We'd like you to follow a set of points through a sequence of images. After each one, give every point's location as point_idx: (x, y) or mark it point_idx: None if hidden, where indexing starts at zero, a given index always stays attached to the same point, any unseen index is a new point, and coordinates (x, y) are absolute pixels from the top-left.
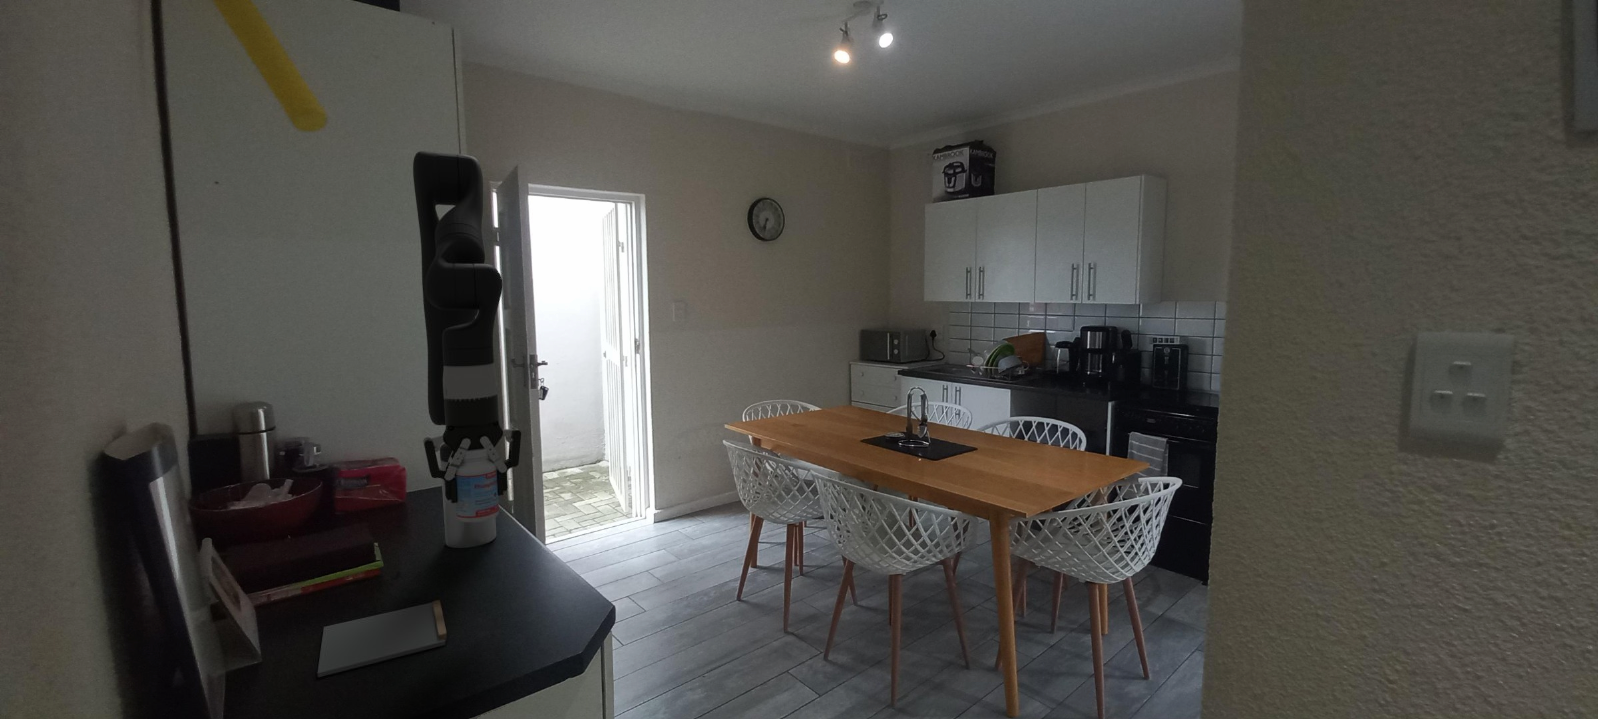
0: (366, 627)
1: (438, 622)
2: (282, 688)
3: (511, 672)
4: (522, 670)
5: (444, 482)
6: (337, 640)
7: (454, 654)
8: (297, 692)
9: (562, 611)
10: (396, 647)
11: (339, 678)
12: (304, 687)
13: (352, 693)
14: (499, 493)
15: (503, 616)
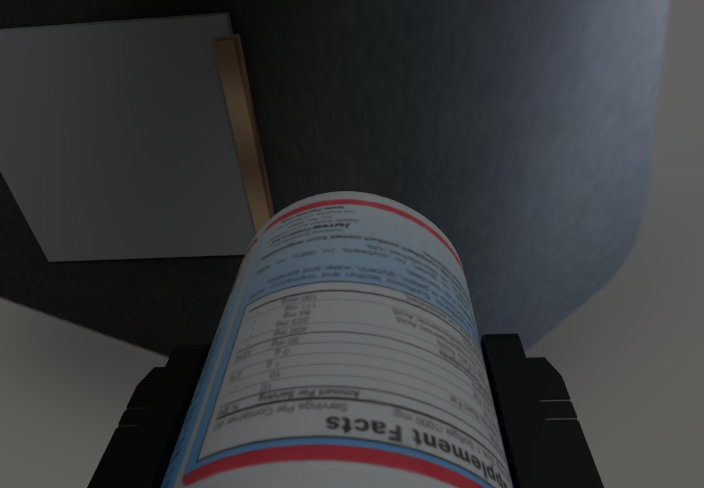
0: (62, 101)
1: (250, 188)
2: (4, 262)
3: None
4: None
5: (97, 483)
6: (17, 141)
7: None
8: (41, 284)
9: (545, 221)
10: (175, 235)
11: (98, 274)
12: (45, 275)
13: (142, 323)
14: None
15: (407, 179)
